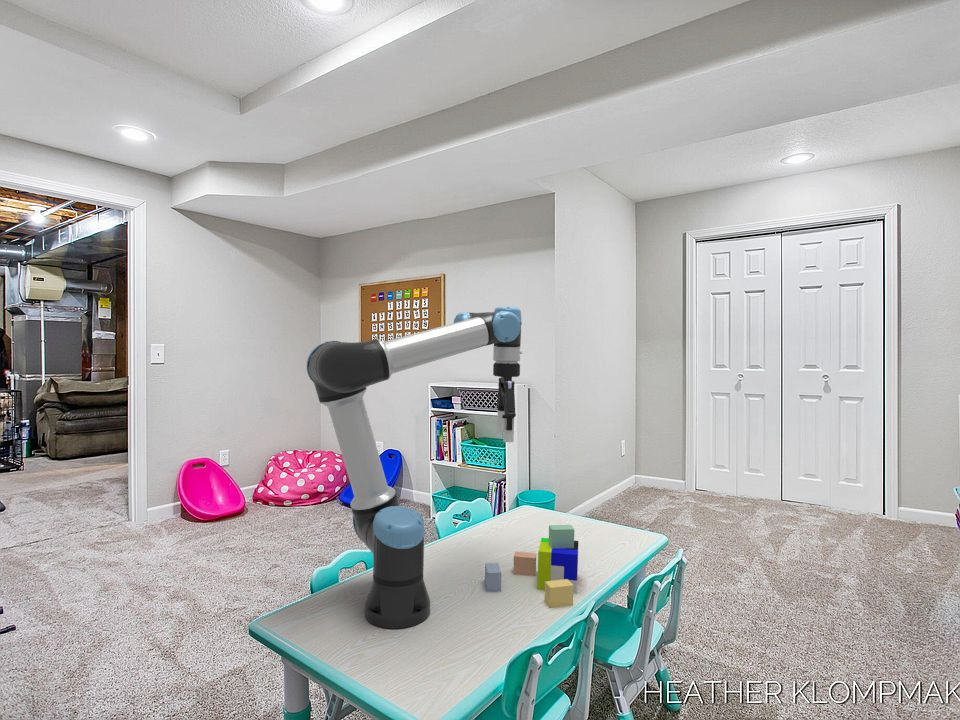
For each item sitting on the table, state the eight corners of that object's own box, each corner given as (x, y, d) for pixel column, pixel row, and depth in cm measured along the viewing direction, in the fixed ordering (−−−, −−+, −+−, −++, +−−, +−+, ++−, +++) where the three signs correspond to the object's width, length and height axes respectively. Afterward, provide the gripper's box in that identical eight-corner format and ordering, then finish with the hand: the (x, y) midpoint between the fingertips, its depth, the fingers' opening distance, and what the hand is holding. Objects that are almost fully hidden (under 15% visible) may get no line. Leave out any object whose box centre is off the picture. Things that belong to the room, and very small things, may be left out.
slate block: (501, 591, 142) (501, 572, 142) (487, 592, 141) (487, 572, 141) (497, 581, 148) (498, 562, 148) (484, 581, 147) (485, 563, 147)
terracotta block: (513, 574, 152) (513, 556, 152) (514, 569, 156) (514, 551, 156) (535, 576, 151) (535, 558, 151) (536, 570, 155) (536, 553, 155)
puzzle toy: (576, 593, 142) (577, 554, 141) (537, 589, 144) (538, 551, 143) (577, 576, 151) (578, 540, 151) (540, 573, 153) (541, 537, 153)
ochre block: (550, 608, 134) (550, 587, 134) (544, 601, 137) (544, 581, 137) (572, 605, 135) (573, 585, 135) (566, 598, 139) (567, 579, 139)
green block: (551, 548, 145) (551, 529, 145) (548, 543, 149) (549, 525, 148) (573, 548, 146) (574, 529, 146) (570, 543, 149) (571, 524, 149)
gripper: (527, 364, 144) (525, 446, 145) (513, 360, 169) (511, 429, 170) (499, 364, 143) (497, 446, 144) (488, 360, 168) (487, 429, 169)
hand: (504, 437), depth 157 cm, fingers open, 13 cm apart
